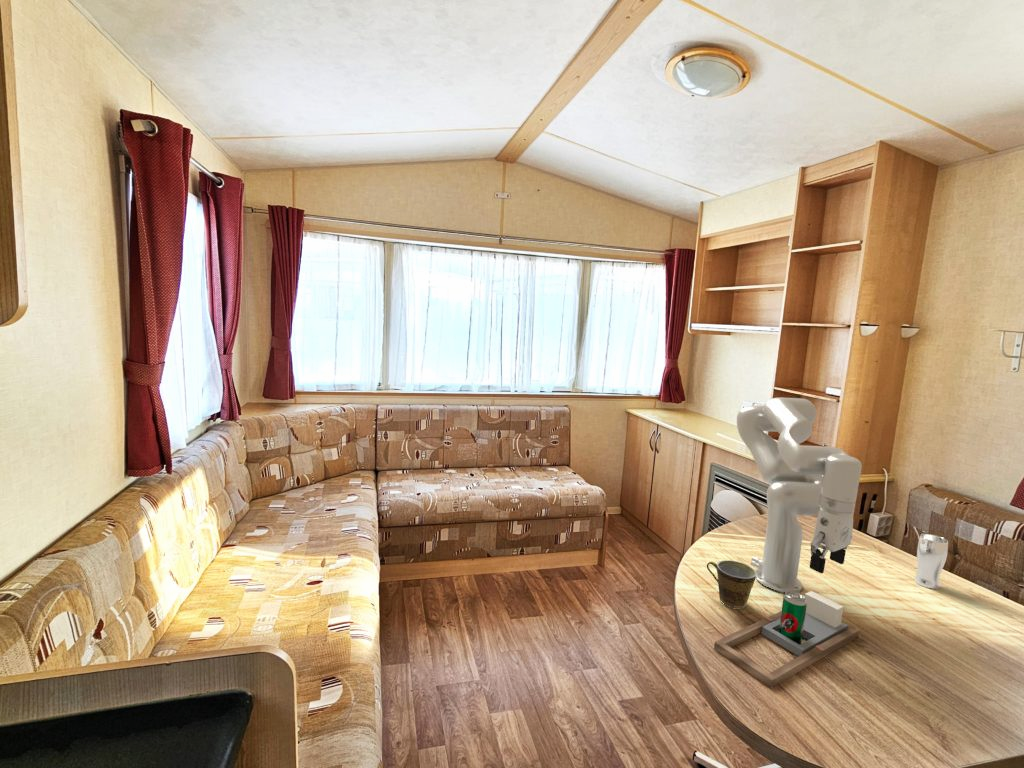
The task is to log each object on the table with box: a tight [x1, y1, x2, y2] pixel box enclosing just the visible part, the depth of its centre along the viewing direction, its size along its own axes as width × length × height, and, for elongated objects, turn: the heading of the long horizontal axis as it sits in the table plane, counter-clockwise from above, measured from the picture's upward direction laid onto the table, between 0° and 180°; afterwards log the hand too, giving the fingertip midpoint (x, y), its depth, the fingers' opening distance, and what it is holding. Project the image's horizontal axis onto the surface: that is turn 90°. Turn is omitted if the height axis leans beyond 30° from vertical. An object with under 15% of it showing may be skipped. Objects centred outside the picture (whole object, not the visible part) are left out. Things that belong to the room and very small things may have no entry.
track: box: [713, 610, 860, 688], centre depth 120 cm, size 14×38×2 cm, turn 121°
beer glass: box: [913, 533, 949, 590], centre depth 151 cm, size 7×7×15 cm
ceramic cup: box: [706, 559, 756, 610], centre depth 137 cm, size 13×10×10 cm
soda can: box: [779, 591, 807, 645], centre depth 120 cm, size 5×5×12 cm
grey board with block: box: [760, 590, 849, 657], centre depth 124 cm, size 10×21×7 cm, turn 121°
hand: (826, 566), depth 127 cm, fingers open, 9 cm apart
